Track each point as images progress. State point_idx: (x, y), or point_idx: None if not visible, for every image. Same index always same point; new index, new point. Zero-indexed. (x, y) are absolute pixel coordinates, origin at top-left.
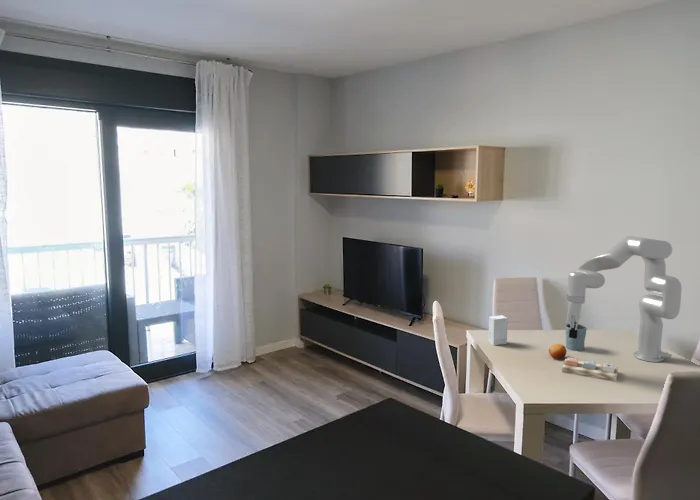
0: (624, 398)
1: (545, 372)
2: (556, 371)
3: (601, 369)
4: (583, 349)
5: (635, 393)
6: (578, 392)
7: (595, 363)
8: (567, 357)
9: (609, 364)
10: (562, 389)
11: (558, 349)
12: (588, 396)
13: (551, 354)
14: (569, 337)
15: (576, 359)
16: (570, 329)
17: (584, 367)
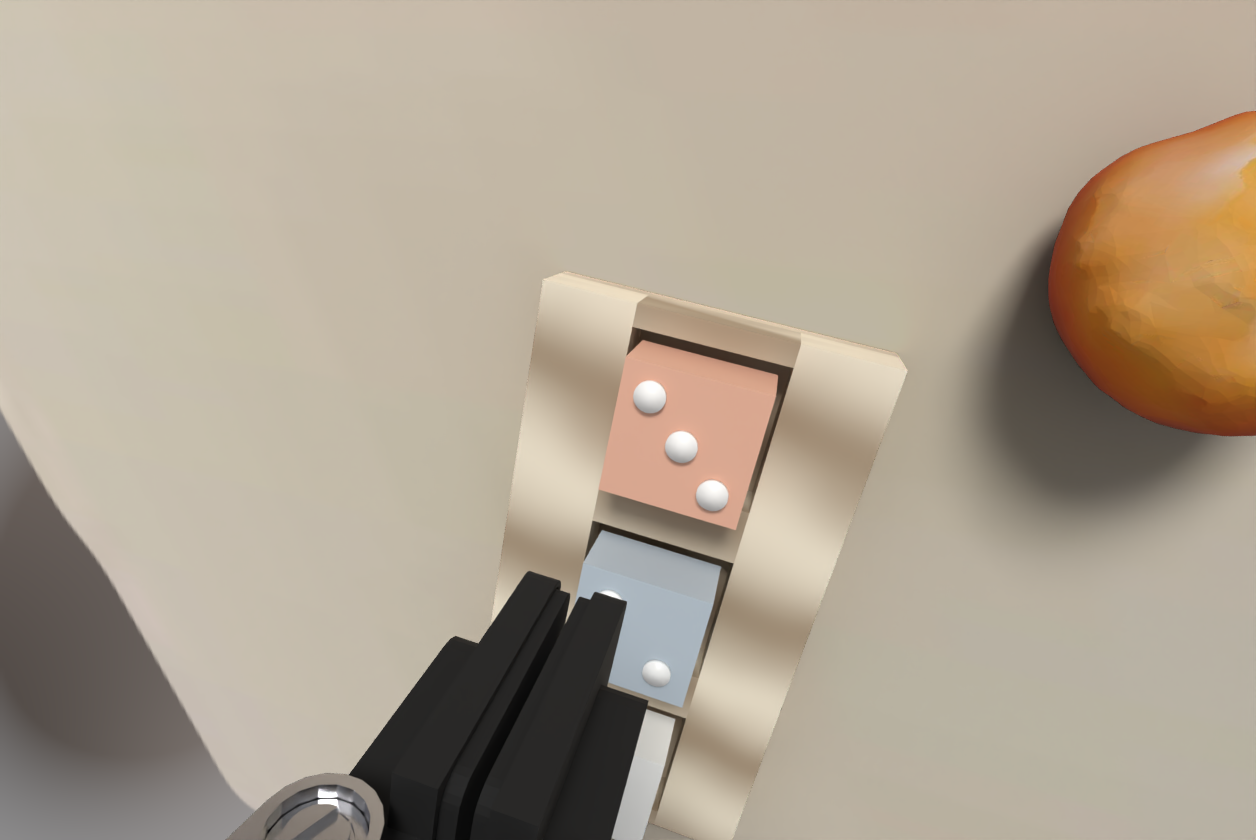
0: (198, 662)
1: (478, 57)
2: (561, 206)
3: None
4: None
5: (318, 759)
6: (127, 362)
7: (618, 683)
8: (760, 393)
9: (634, 807)
10: (113, 227)
11: (1115, 289)
12: (97, 427)
13: (1117, 160)
14: (530, 577)
15: (701, 502)
16: (306, 793)
17: (596, 541)
